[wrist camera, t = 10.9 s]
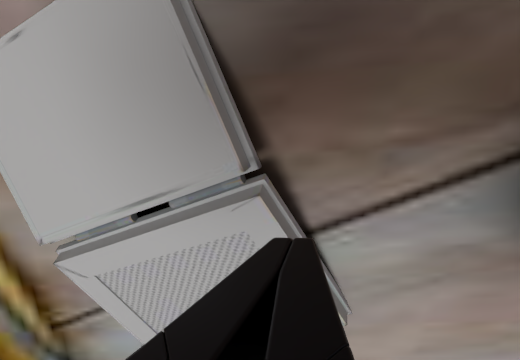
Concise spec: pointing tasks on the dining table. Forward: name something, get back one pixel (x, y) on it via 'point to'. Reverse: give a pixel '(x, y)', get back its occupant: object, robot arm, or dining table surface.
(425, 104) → the dining table surface
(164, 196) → the gadget
